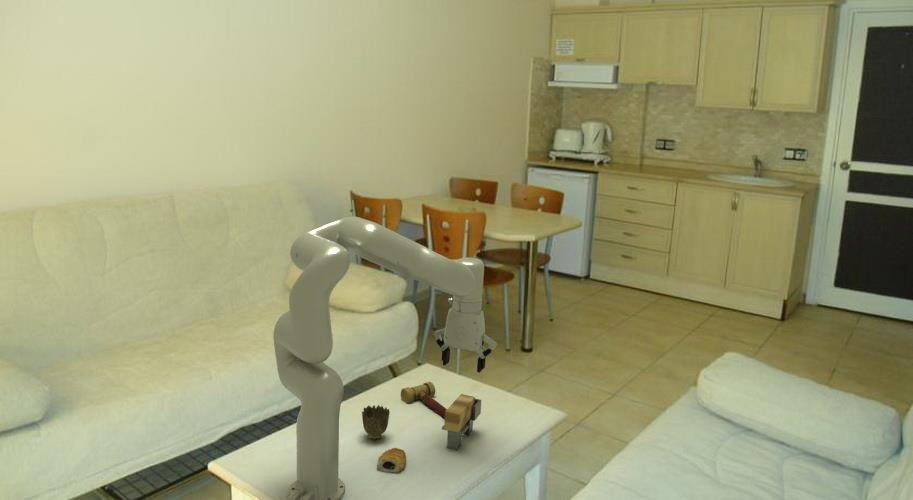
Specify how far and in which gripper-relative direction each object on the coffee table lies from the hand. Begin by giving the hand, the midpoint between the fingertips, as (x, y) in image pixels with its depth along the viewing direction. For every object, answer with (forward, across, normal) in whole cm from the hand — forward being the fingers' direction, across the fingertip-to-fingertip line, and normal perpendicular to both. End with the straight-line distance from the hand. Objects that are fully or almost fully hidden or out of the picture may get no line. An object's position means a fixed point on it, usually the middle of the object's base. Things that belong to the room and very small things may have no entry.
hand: (462, 367), depth 189 cm
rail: (+15, 0, 0) cm, 15 cm away
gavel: (+22, -14, +15) cm, 30 cm away
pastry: (+22, -11, -19) cm, 31 cm away
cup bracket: (+21, 0, +5) cm, 22 cm away
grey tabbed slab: (+21, 0, -4) cm, 22 cm away
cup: (+22, -21, -8) cm, 31 cm away
